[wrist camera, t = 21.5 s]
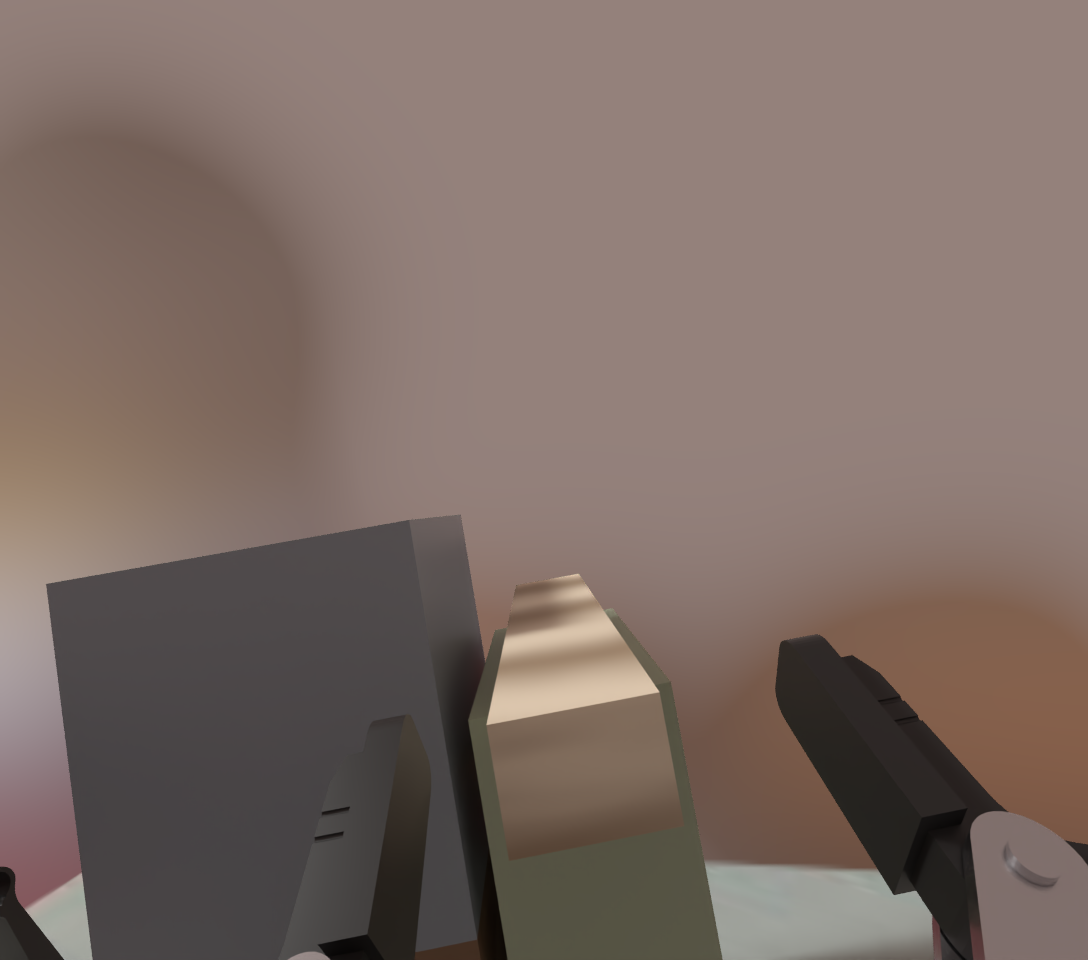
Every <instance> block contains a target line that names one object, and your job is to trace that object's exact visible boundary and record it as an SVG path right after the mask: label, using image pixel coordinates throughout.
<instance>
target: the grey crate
mask: <svg viewBox="0 0 1088 960" xmlns="http://www.w3.org/2000/svg"><path fill="white" fill-rule="evenodd" d="M46 586H47V594H48V602H49V610H50V618H51V626H52V634H53V641H54V650H55V659H56V667H57V675H58V683H59V691H60V699H61V706H62V715H63V723H64V731H65V739H66V746H67V756H68V764H69V772H70V780H71V787H72V796H73V804H74V812H75V820H76V828H77V836H78V844H79V853H80V860H81V869H82V877H83V885H84V893H85V901H86V909H87V917H88V925H89V933H90V941H91V949H92V958H93V960H278V958H279V956H280V953H281V950H282V948H283V945H284V942H285V938H286V935H287V931H288V928H289V924H290V920H291V917H292V913H293V910H294V906H295V903H296V899H297V896H298V892H299V889H300V885H301V882H302V878H303V875H304V871H305V868H306V864H307V861H308V857H309V854H310V850H311V847H312V844H314V841H315V838H314V836H315V833H316V829H317V825H318V822H319V818H321V817H322V812H321V811H322V808H323V804H324V801H325V797H326V794H327V790H328V787H329V783H330V781H331V779H332V778H333V776H334V775H335V773H336V772H337V770H338V769H339V767H340V765H341V764H342V762H343V761H344V759H345V758H346V756H347V755H349V754H354V753H359V752H363V749H364V745H365V741H366V737H367V733H368V729H369V726H370V724H371V723H372V722H373V721H375V720H380V719H385V718H390V717H396V716H401V715H406V714H409V715H411V717H412V719H413V721H414V724H415V726H416V729H417V731H418V734H419V736H420V739H421V741H422V744H423V746H424V749H425V751H426V754H427V756H428V759H429V764H430V770H431V796H430V806H429V816H428V826H427V837H426V847H425V857H424V867H423V878H422V888H421V898H420V908H419V919H418V929H417V939H416V949H415V952H419V951H424V950H429V949H434V948H439V947H444V946H449V945H453V944H458V943H463V942H468V941H473V940H477V937H478V929H479V921H480V913H481V905H482V898H483V890H484V882H485V874H486V866H487V858H488V850H489V843H488V837H487V831H486V825H485V819H484V813H483V807H482V801H481V795H480V789H479V783H478V777H477V771H476V764H475V758H474V752H473V746H472V740H471V734H470V728H469V722H468V720H469V716H470V713H471V710H472V706H473V703H474V700H475V696H476V693H477V689H478V686H479V683H480V679H481V676H482V673H483V669H484V666H485V658H484V652H483V646H482V640H481V634H480V628H479V622H478V616H477V611H476V604H475V598H474V592H473V586H472V580H471V574H470V568H469V562H468V556H467V551H466V544H465V539H464V533H463V527H462V520H461V515H454V516H444V517H434V518H425V519H415V520H407V521H401V522H396V523H390V524H384V525H379V526H374V527H367V528H362V529H356V530H350V531H345V532H339V533H334V534H327V535H322V536H317V537H311V538H305V539H299V540H294V541H288V542H282V543H276V544H271V545H265V546H259V547H254V548H248V549H243V550H237V551H231V552H226V553H220V554H214V555H209V556H203V557H197V558H191V559H186V560H180V561H175V562H169V563H163V564H157V565H152V566H146V567H140V568H135V569H129V570H124V571H118V572H112V573H106V574H101V575H95V576H89V577H84V578H78V579H73V580H67V581H61V582H55V583H50V584H46Z"/></svg>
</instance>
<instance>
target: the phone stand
mask: <svg viewBox="0 0 1088 960" xmlns="http://www.w3.org/2000/svg"><path fill="white" fill-rule="evenodd" d="M0 960H64V959H63V958H62V956H61V955H60V954H59V953H58V951H57V950H56V949H55V948H54V946H53V945H52V944H51V942H50V941H49V940H48V939H47V937H46V936H45V935H44V934H43V932H42V931H41V930H40V928H39V927H38V926H37V925H36V923H35V922H34V921H33V920H32V918H31V917H30V916H29V915H28V913H27V912H26V911H25V909H24V908H23V907H22V906H21V904H20V903H19V902H18V900H17V898H16V894H15V874H14V872H13V871H12V870H11V869H10V868H8V867H0Z"/></svg>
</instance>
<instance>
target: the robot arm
mask: <svg viewBox="0 0 1088 960" xmlns="http://www.w3.org/2000/svg"><path fill="white" fill-rule="evenodd" d="M775 689H776V697H777V701H778V705H779V708H780V710H781V712H782V715H783V717H784V718H785V720H786V722H787V723H788V725H789V727H790V728H791V730H792V731H793V733H794V735H795V736H796V738H797V740H798V741H799V743H800V744H801V746H802V747H803V749H804V751H805V752H806V754H807V756H808V757H809V759H810V760H811V762H812V764H813V765H814V767H815V769H816V770H817V772H818V773H819V775H820V777H821V778H822V780H823V781H824V783H825V785H826V786H827V788H828V789H829V791H830V793H831V794H832V796H833V798H834V799H835V801H836V803H837V804H838V806H839V807H840V809H841V811H842V812H843V814H844V815H845V817H846V818H847V820H848V822H849V823H850V825H851V827H852V828H853V830H854V832H855V833H856V835H857V836H858V838H859V840H860V841H861V843H862V844H863V846H864V848H865V849H866V851H867V853H868V854H869V856H870V857H871V859H872V860H873V862H874V864H875V865H876V867H877V869H878V870H879V872H880V874H881V875H882V877H883V878H884V880H885V882H886V883H887V885H888V886H889V888H890V890H891V891H892V893H893V895H897V894H901V893H906V892H911V891H917V893H918V894H919V896H920V897H921V899H922V900H923V902H924V903H925V905H926V906H927V908H928V909H929V911H930V912H931V914H932V930H933V948H934V960H1088V845H1087V844H1081V843H1075V842H1069V841H1065V840H1063V839H1062V838H1060V837H1059V836H1058V835H1056V834H1055V833H1054V832H1052V831H1051V830H1049V829H1047V828H1046V827H1044V826H1043V825H1040V824H1039V823H1037V822H1035V821H1033V820H1031V819H1028V818H1026V817H1023V816H1020V815H1017V814H1014V813H1009V812H1008V811H1006V810H1005V809H1004V808H1003V807H1002V806H1001V805H999V804H998V803H997V802H996V801H995V800H994V799H993V798H992V797H991V796H990V795H989V794H988V793H987V791H986V790H985V789H984V788H983V787H982V786H981V785H980V784H979V783H978V781H977V780H976V779H975V778H974V777H973V776H972V775H971V774H970V773H969V772H968V770H967V769H966V768H965V767H964V766H963V765H962V764H961V763H960V762H959V761H958V759H957V758H956V757H955V756H954V755H953V754H952V753H951V752H950V750H949V749H948V748H947V747H946V746H945V745H944V744H943V743H942V742H941V740H940V739H939V738H938V737H937V736H936V735H935V734H934V733H933V732H932V730H931V729H930V728H929V727H928V726H927V725H926V724H925V723H924V722H923V721H920V720H919V718H918V715H917V714H916V713H915V712H914V711H913V709H912V708H911V707H910V706H909V705H908V704H907V703H906V702H905V701H902V700H901V697H900V695H899V694H898V693H897V692H896V691H895V689H894V688H893V687H892V686H891V685H890V684H889V683H888V682H887V681H886V680H885V678H884V677H883V676H882V675H881V674H880V673H879V672H877V671H876V670H874V669H873V668H871V667H870V666H868V665H867V664H865V663H863V662H862V661H860V660H859V659H857V658H856V657H854V656H852V655H851V656H846V657H840V656H839V655H838V653H837V652H836V651H835V650H834V649H833V648H832V646H831V645H830V644H829V643H828V642H827V641H826V639H825V638H823V637H822V636H820V635H818V634H816V635H810V636H805V637H800V638H795V639H790V640H784V641H782V642H781V644H780V648H779V657H778V668H777V677H776V688H775ZM430 796H431V770H430V764H429V759H428V756H427V754H426V751H425V749H424V746H423V744H422V741H421V739H420V736H419V734H418V731H417V729H416V726H415V724H414V721H413V719H412V717H411V715H409V714H406V715H401V716H396V717H390V718H385V719H380V720H375V721H373V722H372V723H371V724H370V726H369V729H368V733H367V737H366V741H365V745H364V749H363V752H359V753H354V754H349V755H347V756H346V758H345V759H344V761H343V762H342V764H341V765H340V767H339V769H338V770H337V772H336V773H335V775H334V776H333V778H332V779H331V781H330V783H329V787H328V790H327V794H326V797H325V801H324V804H323V808H322V811H321V812H322V817H321V818H319V822H318V825H317V829H316V833H315V836H314V838H315V841H314V844H312V847H311V850H310V854H309V857H308V861H307V864H306V868H305V871H304V875H303V878H302V882H301V885H300V889H299V892H298V896H297V899H296V903H295V906H294V910H293V913H292V917H291V920H290V924H289V928H288V931H287V935H286V938H285V942H284V945H283V948H282V950H281V953H280V956H279V958H278V960H415V949H416V939H417V929H418V919H419V908H420V898H421V888H422V878H423V867H424V857H425V847H426V837H427V826H428V816H429V806H430Z"/></svg>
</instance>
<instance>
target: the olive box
mask: <svg viewBox="0 0 1088 960" xmlns="http://www.w3.org/2000/svg"><path fill="white" fill-rule="evenodd" d="M604 612H605V613H606V615H607V616H608V618H609V619H610V621H611V622H612V623H613V625H614V626H615V628H616V629H617V631H618V632H619V634H620V635H621V637H622V638H623V639H624V641H625V642H626V644H627V645H628V647H629V648H630V650H631V651H632V653H633V654H634V656H635V657H636V658H637V660H638V661H639V663H640V664H641V666H642V667H643V669H644V670H645V672H646V673H647V674H648V676H649V677H650V679H651V680H652V682H653V683H654V685H655V686H656V688H657V689H658V691H659V692H660V697H661V702H662V708H663V713H664V719H665V724H666V729H667V735H668V740H669V746H670V751H671V757H672V762H673V767H674V773H675V778H676V784H677V789H678V794H679V800H680V805H681V811H682V816H683V821H684V826H682V827H677V828H672V829H667V830H662V831H657V832H652V833H647V834H642V835H637V836H632V837H627V838H622V839H617V840H612V841H607V842H602V843H597V844H592V845H587V846H582V847H577V848H572V849H567V850H562V851H557V852H552V853H547V854H542V855H537V856H532V857H527V858H522V859H517V860H512V861H509V858H508V852H507V846H506V840H505V834H504V828H503V822H502V816H501V810H500V804H499V798H498V792H497V786H496V780H495V774H494V768H493V762H492V756H491V750H490V744H489V738H488V732H487V726H486V724H487V720H488V715H489V710H490V706H491V701H492V696H493V692H494V687H495V682H496V678H497V673H498V668H499V664H500V659H501V654H502V649H503V645H504V640H505V635H506V631H507V628H505V629H499V630H495V632H494V636H493V639H492V643H491V646H490V649H489V653H488V656H487V659H486V663H485V666H484V669H483V673H482V676H481V679H480V683H479V686H478V689H477V693H476V696H475V700H474V703H473V706H472V710H471V713H470V716H469V720H468V722H469V728H470V734H471V740H472V746H473V752H474V758H475V764H476V771H477V777H478V783H479V789H480V795H481V801H482V807H483V813H484V819H485V825H486V831H487V837H488V843H489V849H490V855H491V862H492V868H493V874H494V880H495V886H496V892H497V898H498V904H499V910H500V916H501V922H502V928H503V934H504V940H505V946H506V952H507V959H508V960H722V954H721V949H720V944H719V938H718V933H717V928H716V922H715V917H714V911H713V906H712V901H711V895H710V890H709V885H708V879H707V874H706V868H705V863H704V858H703V853H702V847H701V842H700V836H699V832H698V825H697V820H696V815H695V809H694V805H693V799H692V794H691V788H690V783H689V777H688V772H687V766H686V761H685V756H684V750H683V745H682V740H681V734H680V729H679V723H678V718H677V713H676V707H675V702H674V697H673V691H672V686H671V682H670V681H669V679H668V678H667V676H666V675H665V674H664V673H663V672H662V670H661V669H660V668H659V667H658V665H657V664H656V663H655V661H654V660H653V659H652V658H651V656H650V655H649V654H648V653H647V651H646V650H645V649H644V648H643V646H642V645H641V644H640V643H639V641H638V640H637V639H636V638H635V636H634V635H633V634H632V633H631V631H630V630H629V629H628V628H627V626H626V625H625V624H624V623H623V621H622V620H621V619H620V618H619V616H618V615H617V614H616V612H615V611H614V610H613V609H607V610H604Z"/></svg>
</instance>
